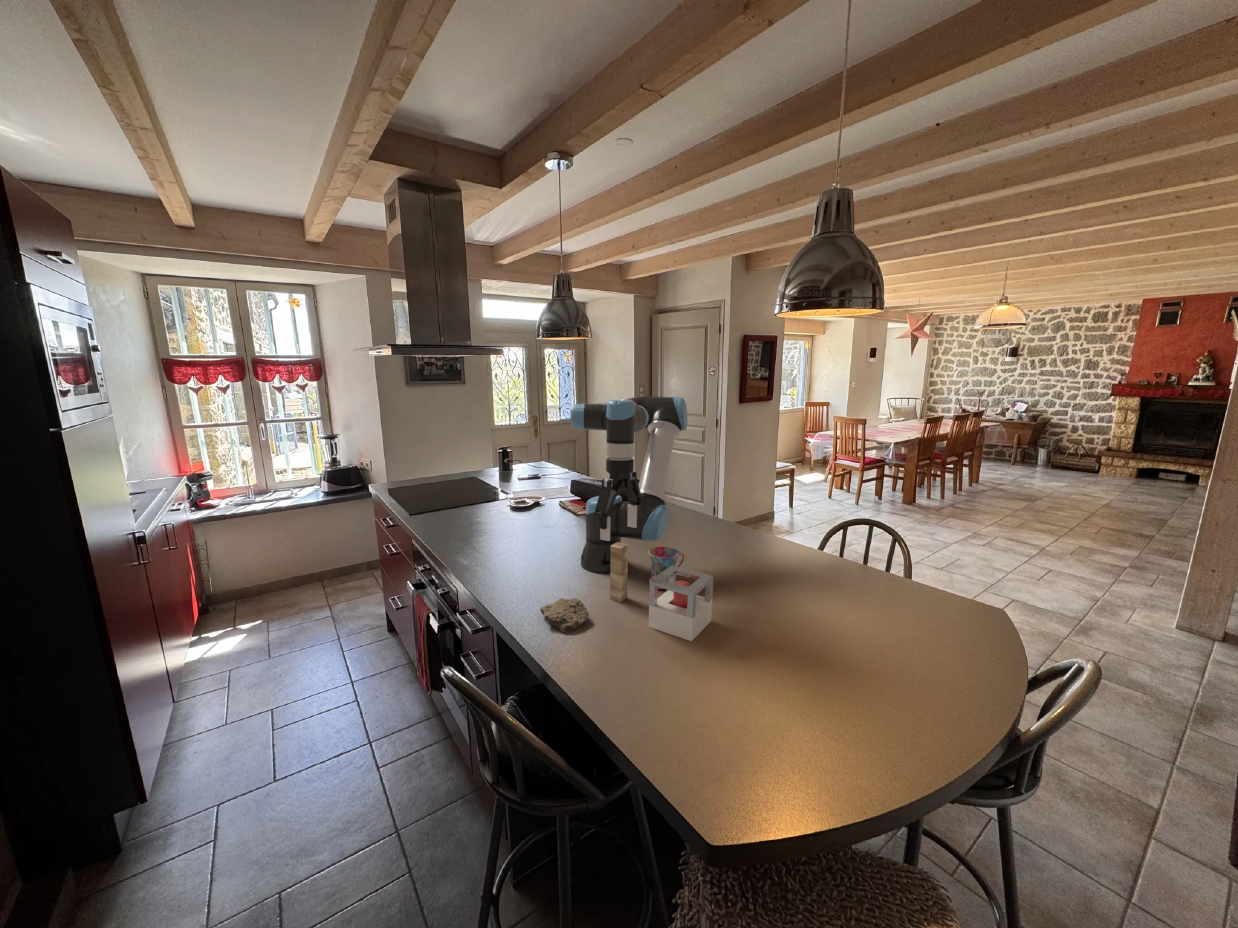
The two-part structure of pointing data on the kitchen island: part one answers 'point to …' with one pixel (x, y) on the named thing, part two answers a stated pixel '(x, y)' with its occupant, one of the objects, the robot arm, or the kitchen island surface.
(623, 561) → the tall wooden block
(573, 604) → the rock
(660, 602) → the box
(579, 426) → the robot arm
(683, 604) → the red dome button
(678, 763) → the kitchen island surface
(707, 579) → the frame
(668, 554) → the mug
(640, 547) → the kitchen island surface
